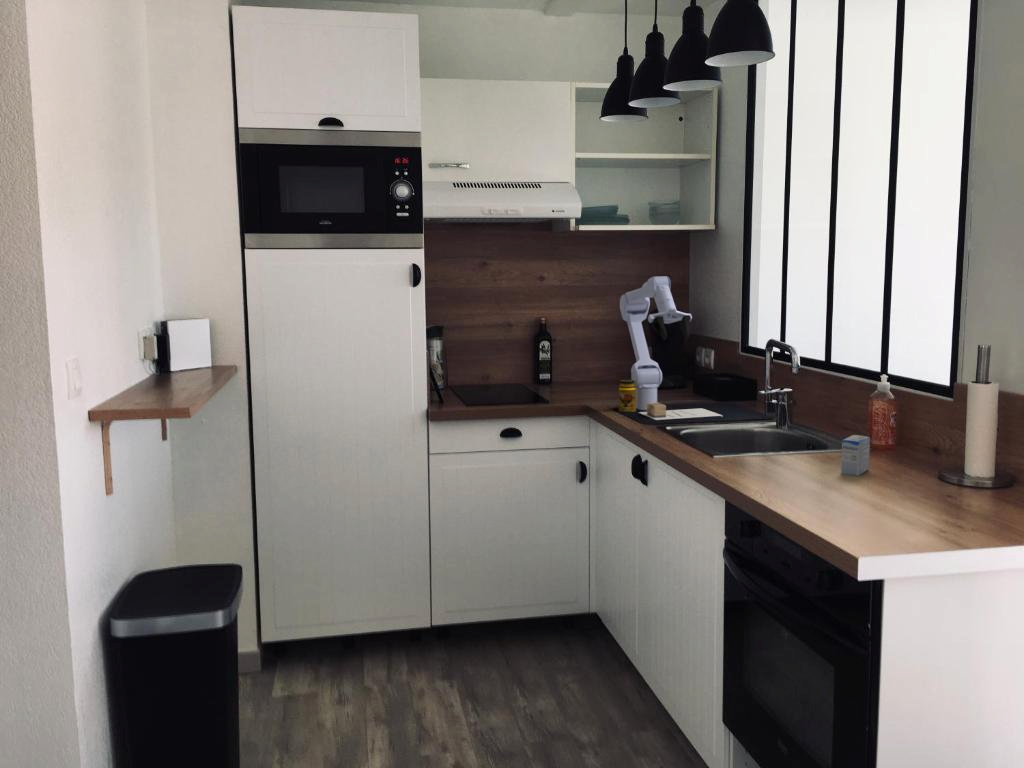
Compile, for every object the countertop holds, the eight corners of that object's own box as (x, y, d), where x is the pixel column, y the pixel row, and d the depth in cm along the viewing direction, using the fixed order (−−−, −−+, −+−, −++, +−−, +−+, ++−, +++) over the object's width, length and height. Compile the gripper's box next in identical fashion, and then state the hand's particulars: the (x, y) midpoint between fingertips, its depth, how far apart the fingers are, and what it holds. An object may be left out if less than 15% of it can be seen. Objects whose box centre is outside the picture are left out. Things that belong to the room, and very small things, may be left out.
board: (638, 415, 311) (638, 412, 311) (702, 411, 317) (702, 408, 317) (656, 423, 296) (656, 419, 296) (722, 418, 301) (722, 415, 301)
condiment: (622, 416, 312) (622, 382, 310) (612, 412, 320) (612, 379, 318) (641, 414, 314) (641, 380, 312) (631, 411, 322) (631, 378, 320)
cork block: (646, 414, 306) (646, 403, 306) (657, 413, 307) (657, 402, 306) (654, 417, 299) (654, 406, 299) (666, 417, 300) (666, 405, 300)
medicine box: (851, 468, 228) (852, 434, 226) (869, 470, 225) (870, 436, 224) (840, 474, 222) (841, 439, 220) (858, 476, 219) (859, 441, 218)
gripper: (648, 298, 292) (659, 330, 284) (690, 297, 295) (701, 329, 288) (642, 311, 298) (652, 344, 290) (683, 311, 301) (694, 343, 293)
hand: (676, 337), depth 289 cm, fingers open, 7 cm apart
